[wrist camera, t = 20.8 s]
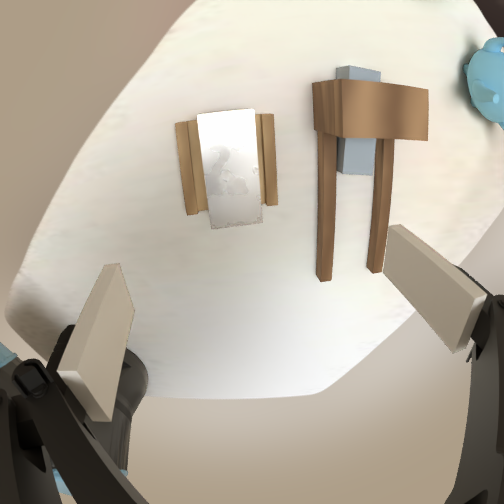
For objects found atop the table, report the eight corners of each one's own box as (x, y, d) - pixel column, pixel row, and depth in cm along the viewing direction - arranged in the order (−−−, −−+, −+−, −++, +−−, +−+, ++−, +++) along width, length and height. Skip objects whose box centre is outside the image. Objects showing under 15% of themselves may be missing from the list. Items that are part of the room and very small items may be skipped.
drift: (357, 168, 36) (372, 175, 32) (329, 166, 35) (342, 173, 32) (364, 73, 30) (380, 72, 27) (335, 68, 30) (349, 65, 26)
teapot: (508, 79, 31) (553, 87, 22) (488, 141, 36) (535, 157, 27) (465, 28, 27) (514, 25, 18) (442, 94, 32) (495, 101, 23)
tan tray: (187, 209, 35) (187, 215, 33) (176, 122, 30) (175, 123, 29) (274, 199, 36) (277, 204, 34) (269, 113, 31) (273, 114, 30)
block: (254, 206, 35) (262, 222, 31) (210, 212, 34) (211, 229, 30) (246, 108, 30) (253, 109, 25) (198, 113, 29) (197, 115, 25)
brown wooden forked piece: (313, 274, 41) (333, 310, 34) (312, 82, 30) (341, 78, 23) (377, 264, 42) (405, 295, 35) (388, 88, 31) (428, 89, 24)
